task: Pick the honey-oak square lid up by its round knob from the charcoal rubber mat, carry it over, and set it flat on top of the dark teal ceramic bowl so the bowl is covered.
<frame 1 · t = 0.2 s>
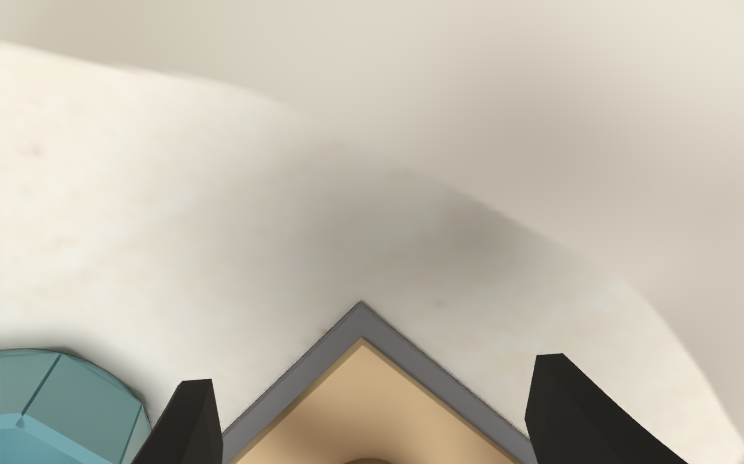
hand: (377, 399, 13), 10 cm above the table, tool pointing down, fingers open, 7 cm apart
teal bowl: (40, 441, 25), on the table
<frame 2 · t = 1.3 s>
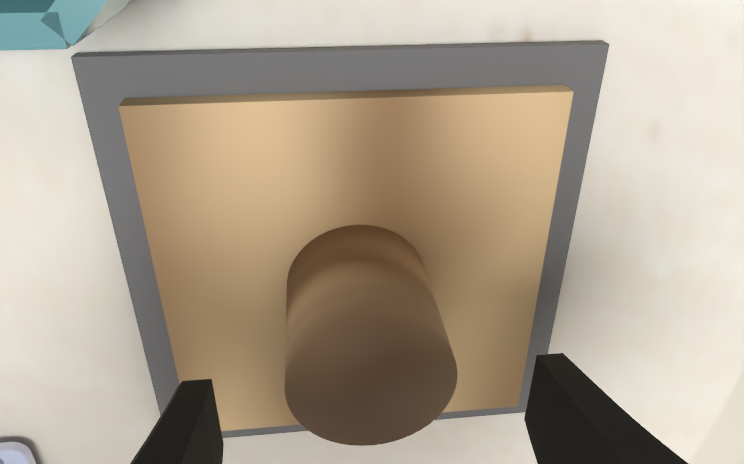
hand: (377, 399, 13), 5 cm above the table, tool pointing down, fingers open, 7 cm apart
rubber mat: (353, 266, 18), on the table
oak lid: (355, 273, 18), resting on rubber mat
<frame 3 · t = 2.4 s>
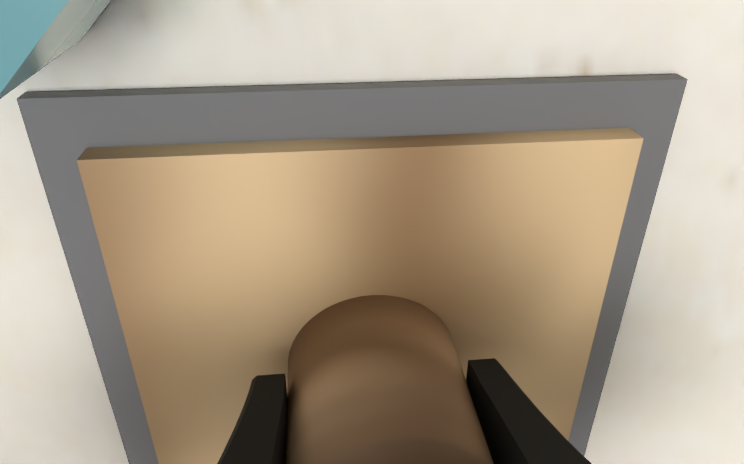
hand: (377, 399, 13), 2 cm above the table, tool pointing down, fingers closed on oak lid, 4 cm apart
rubber mat: (367, 335, 15), on the table
oak lid: (369, 345, 15), resting on rubber mat, touching gripper
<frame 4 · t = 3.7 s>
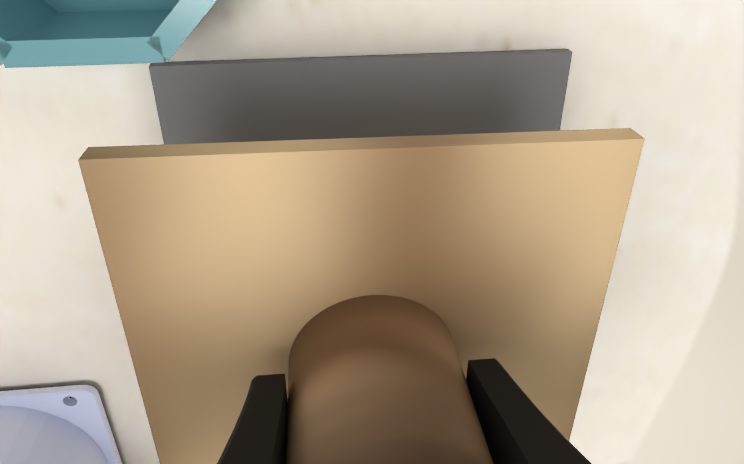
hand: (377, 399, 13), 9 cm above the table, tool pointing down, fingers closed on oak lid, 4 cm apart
rubber mat: (368, 234, 22), on the table
oak lid: (370, 345, 15), point 7 cm above the table, touching gripper
when the fingers open (7 cm above the table, at t = 5.2 s): oak lid stays where it is, resting on teal bowl.
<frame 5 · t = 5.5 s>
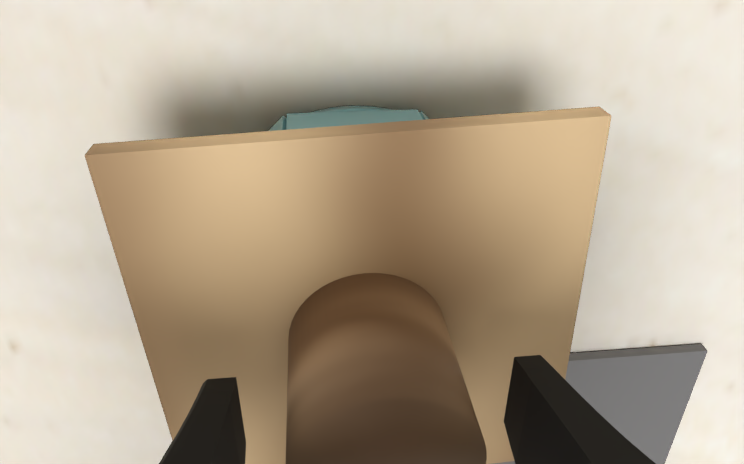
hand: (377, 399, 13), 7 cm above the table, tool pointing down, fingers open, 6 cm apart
teal bowl: (353, 241, 19), on the table
oak lid: (365, 322, 16), point 4 cm above the table, touching teal bowl
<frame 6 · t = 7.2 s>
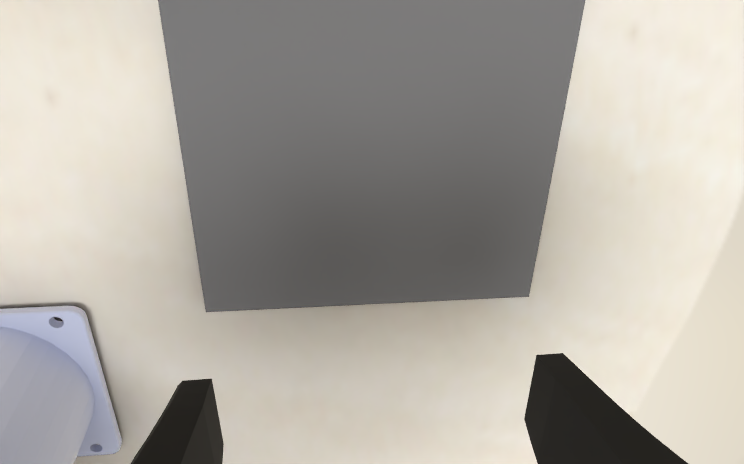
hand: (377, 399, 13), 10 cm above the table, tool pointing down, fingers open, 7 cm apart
rubber mat: (374, 148, 21), on the table
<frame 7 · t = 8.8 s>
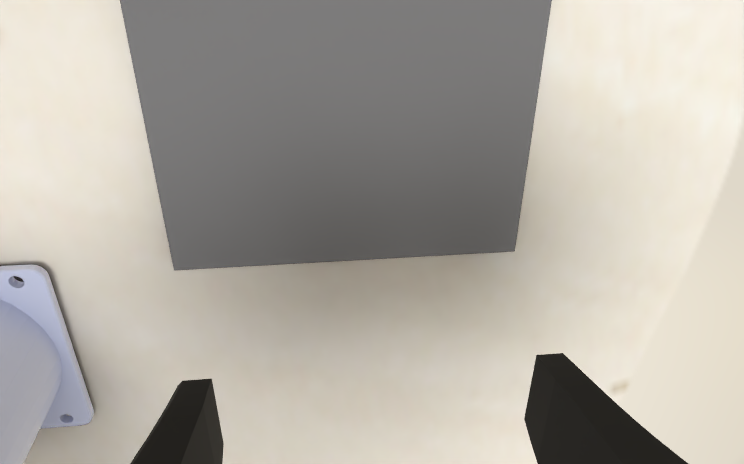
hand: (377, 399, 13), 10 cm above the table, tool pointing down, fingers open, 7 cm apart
rubber mat: (344, 89, 20), on the table
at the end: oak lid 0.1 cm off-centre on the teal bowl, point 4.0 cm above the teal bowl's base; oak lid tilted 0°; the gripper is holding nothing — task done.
